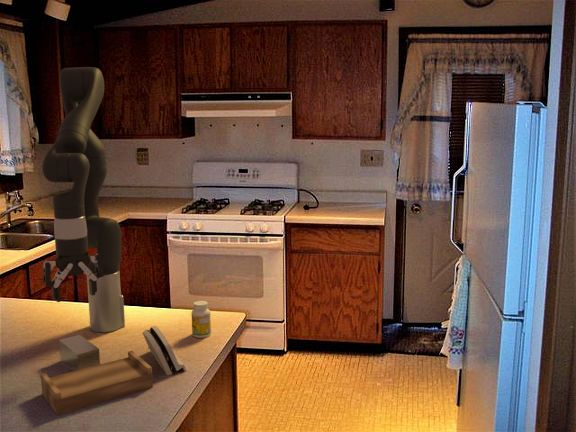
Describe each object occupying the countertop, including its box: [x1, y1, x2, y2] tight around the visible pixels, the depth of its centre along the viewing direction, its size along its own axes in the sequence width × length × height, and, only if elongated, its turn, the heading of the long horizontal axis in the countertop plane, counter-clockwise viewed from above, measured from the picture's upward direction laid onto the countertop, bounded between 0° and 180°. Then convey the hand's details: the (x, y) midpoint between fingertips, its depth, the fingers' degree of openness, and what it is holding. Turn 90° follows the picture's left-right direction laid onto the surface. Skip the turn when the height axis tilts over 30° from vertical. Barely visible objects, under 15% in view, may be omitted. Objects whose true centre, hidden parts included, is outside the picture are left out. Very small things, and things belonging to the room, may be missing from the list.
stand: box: [40, 350, 154, 416], centre depth 143 cm, size 12×22×5 cm, turn 126°
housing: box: [58, 334, 101, 372], centre depth 156 cm, size 6×12×6 cm, turn 41°
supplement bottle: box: [191, 300, 212, 339], centre depth 176 cm, size 5×5×10 cm
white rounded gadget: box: [142, 325, 187, 376], centre depth 158 cm, size 17×5×10 cm, turn 27°
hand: (75, 297), depth 153 cm, fingers open, 8 cm apart
